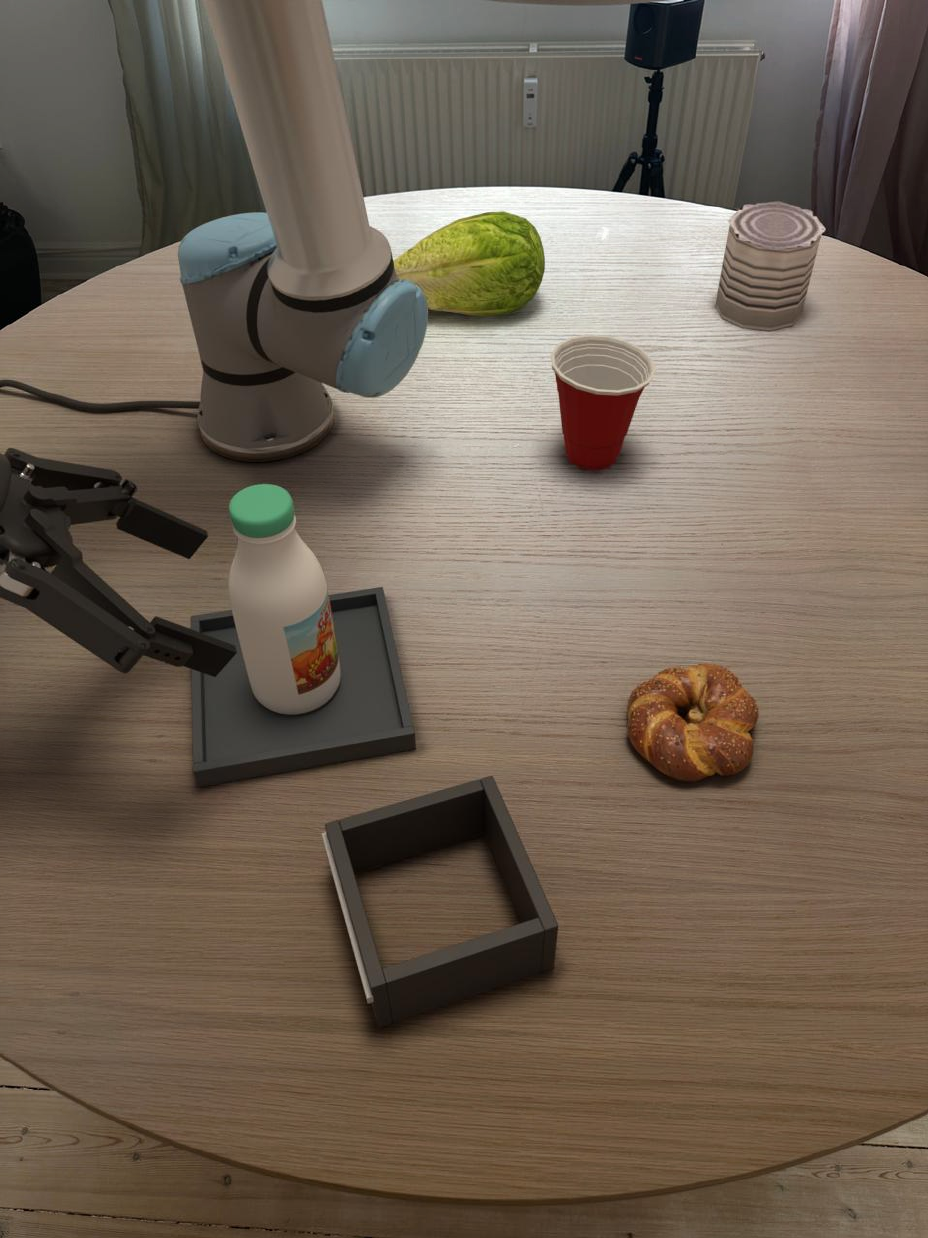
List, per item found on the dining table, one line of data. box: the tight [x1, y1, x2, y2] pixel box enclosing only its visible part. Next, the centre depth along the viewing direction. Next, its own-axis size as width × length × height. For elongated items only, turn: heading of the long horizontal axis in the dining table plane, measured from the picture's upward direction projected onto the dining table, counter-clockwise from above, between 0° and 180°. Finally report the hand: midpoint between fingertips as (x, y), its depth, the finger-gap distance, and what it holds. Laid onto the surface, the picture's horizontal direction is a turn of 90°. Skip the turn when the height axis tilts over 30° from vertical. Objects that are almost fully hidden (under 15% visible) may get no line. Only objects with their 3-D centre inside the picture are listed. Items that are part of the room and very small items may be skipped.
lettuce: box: [393, 210, 546, 317], centre depth 129 cm, size 13×22×14 cm
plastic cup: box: [550, 334, 657, 471], centre depth 104 cm, size 11×11×12 cm
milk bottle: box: [228, 483, 341, 715], centre depth 78 cm, size 8×8×20 cm
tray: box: [189, 586, 417, 787], centre depth 85 cm, size 18×18×2 cm
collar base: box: [321, 775, 559, 1028], centre depth 68 cm, size 13×13×6 cm
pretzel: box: [626, 663, 760, 782], centre depth 80 cm, size 12×11×4 cm
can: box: [714, 200, 827, 332], centre depth 127 cm, size 11×11×12 cm
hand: (211, 600), depth 76 cm, fingers open, 13 cm apart
